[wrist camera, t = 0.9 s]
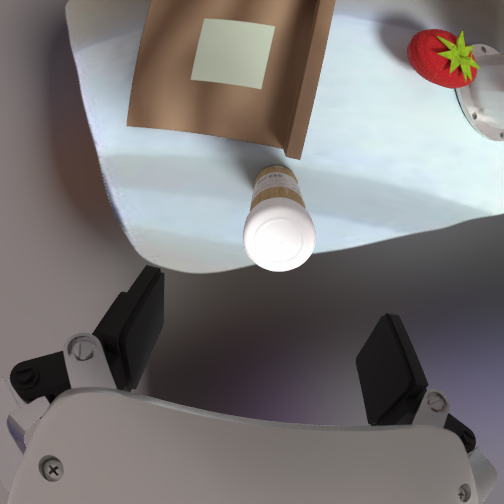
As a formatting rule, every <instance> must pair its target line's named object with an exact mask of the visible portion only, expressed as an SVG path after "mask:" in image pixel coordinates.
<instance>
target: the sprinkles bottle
mask: <svg viewBox="0 0 504 504" xmlns="http://www.w3.org/2000/svg"><path fill="white" fill-rule="evenodd" d="M254 187H255V188H254V192H253V196H252V201H251V208H250V213H249V214H248V216H247V218H246V221H245V226H244V231H243V244H244V248H245V250H246V252H247V254H248V256H249V257H250V259H251V260H252V261H253V262H254V263H256V264H257V265H259V266H260V267H262V268H264V269H267V270H271V271H287V270H291V269H294V268H296V267H298V266H300V265H301V264H303V263H304V262H305V261H306V260H307V259H308V258H309V257H310V255H311V253H312V252H313V249H314V247H315V242H316V233H315V228H314V225H313V222H312V219H311V217H310V215H309V213H308V211H307V210H306V207H305V204H304V201H303V198H302V195H301V192H300V189H299V186H298V182H297V179H296V177H295V175H294V174H293V173H292V172H291V171H290V170H289V169H287V168H285V167H283V166H269V167H267V168H265V169H263V170H262V171H261V172H260V173H259V175H258V176H257V177H256V180H255V184H254Z"/></svg>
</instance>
